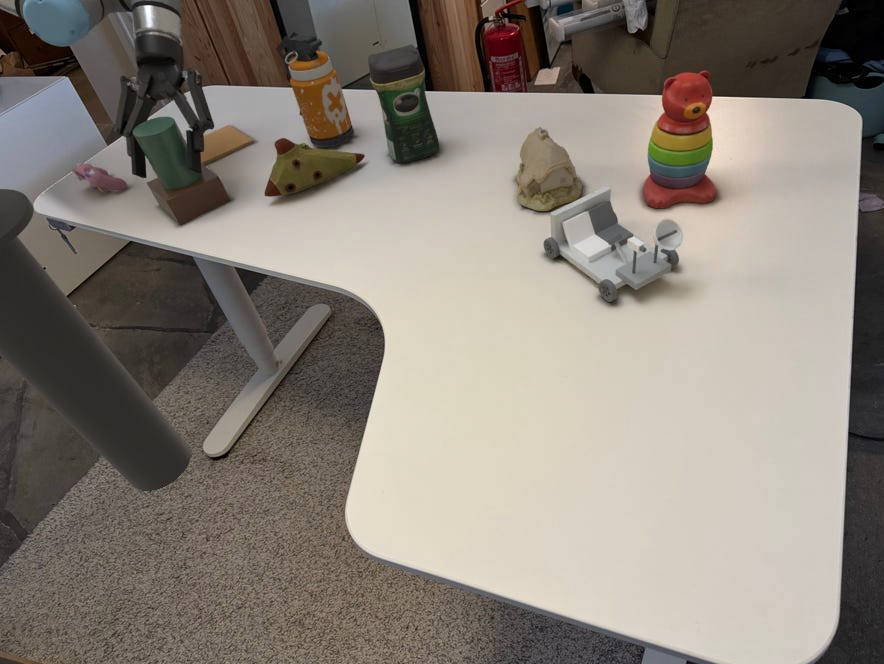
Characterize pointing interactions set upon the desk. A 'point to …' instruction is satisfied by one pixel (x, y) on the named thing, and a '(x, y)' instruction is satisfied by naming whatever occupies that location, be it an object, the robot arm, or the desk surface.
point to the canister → (316, 90)
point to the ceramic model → (546, 173)
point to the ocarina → (305, 167)
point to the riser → (191, 196)
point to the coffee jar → (403, 103)
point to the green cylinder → (166, 152)
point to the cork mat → (222, 143)
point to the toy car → (610, 245)
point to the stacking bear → (681, 144)
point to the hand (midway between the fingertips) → (167, 173)
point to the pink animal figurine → (98, 177)
